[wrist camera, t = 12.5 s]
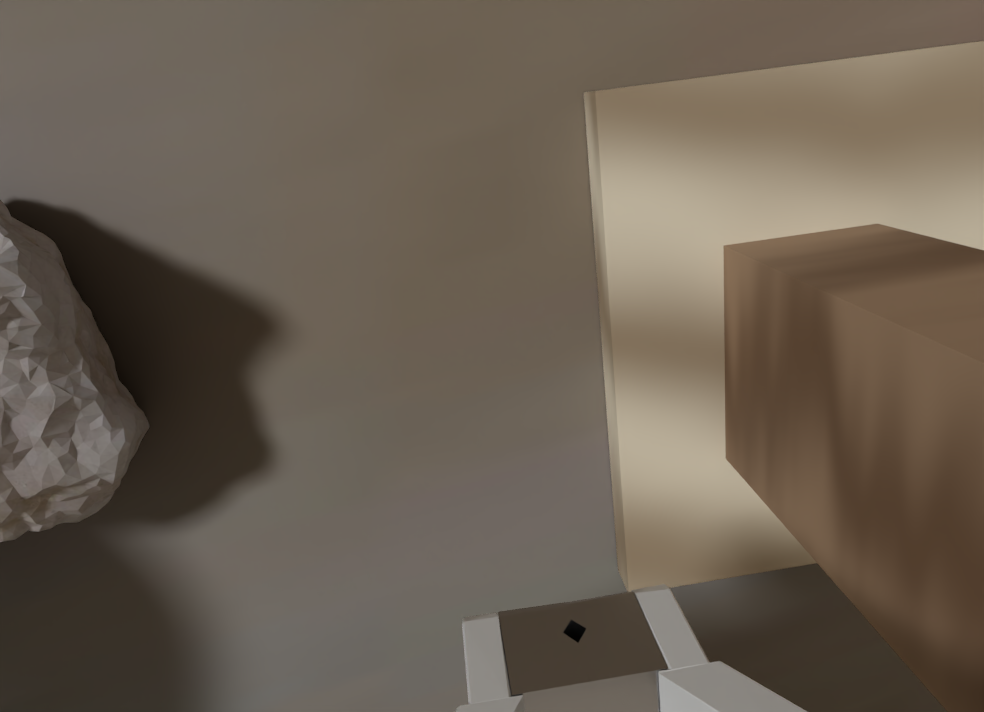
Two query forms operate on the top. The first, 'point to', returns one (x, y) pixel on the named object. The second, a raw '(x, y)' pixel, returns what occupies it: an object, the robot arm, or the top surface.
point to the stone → (55, 393)
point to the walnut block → (870, 427)
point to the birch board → (738, 219)
